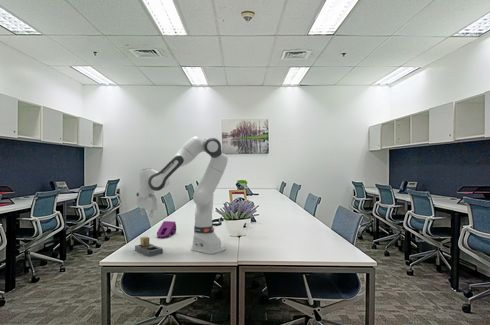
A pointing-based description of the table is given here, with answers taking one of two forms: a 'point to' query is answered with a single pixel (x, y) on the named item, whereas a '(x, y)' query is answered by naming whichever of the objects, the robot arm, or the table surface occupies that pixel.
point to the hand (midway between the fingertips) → (147, 215)
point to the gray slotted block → (149, 250)
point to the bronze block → (144, 241)
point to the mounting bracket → (166, 229)
